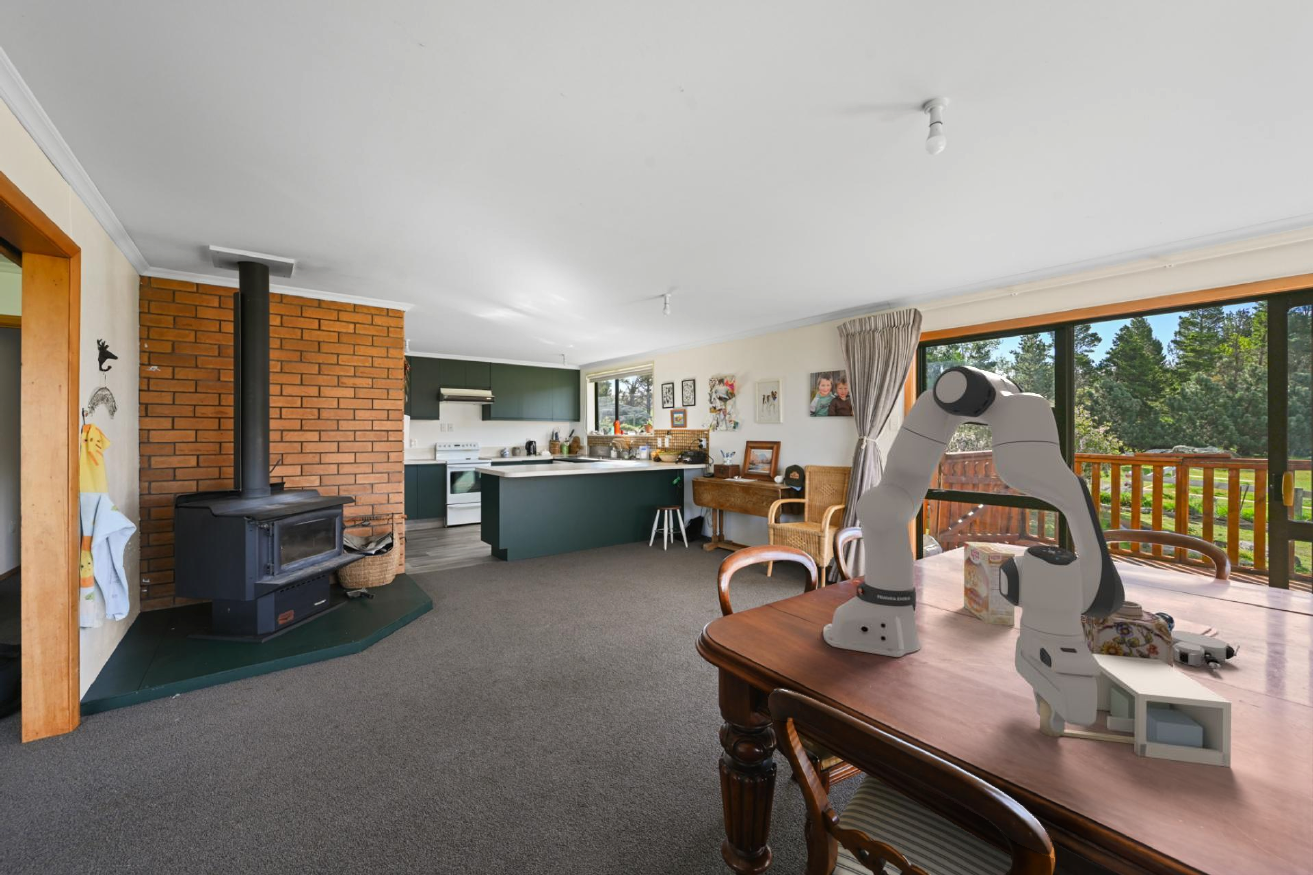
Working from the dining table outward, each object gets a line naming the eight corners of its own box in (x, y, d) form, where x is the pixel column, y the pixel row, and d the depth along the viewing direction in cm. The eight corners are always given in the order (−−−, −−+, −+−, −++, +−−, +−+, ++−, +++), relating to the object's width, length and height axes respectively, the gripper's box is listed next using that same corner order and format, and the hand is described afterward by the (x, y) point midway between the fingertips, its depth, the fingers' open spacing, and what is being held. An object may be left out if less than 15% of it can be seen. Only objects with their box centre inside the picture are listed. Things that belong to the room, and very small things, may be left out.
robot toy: (1222, 682, 112) (1241, 661, 120) (1222, 661, 111) (1241, 641, 119) (1146, 660, 122) (1167, 642, 130) (1146, 641, 122) (1167, 624, 130)
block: (1127, 728, 92) (1128, 699, 92) (1110, 713, 97) (1110, 686, 97) (1168, 732, 91) (1169, 704, 91) (1149, 717, 96) (1149, 690, 96)
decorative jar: (1174, 714, 97) (1175, 616, 97) (1092, 697, 103) (1093, 605, 103) (1156, 687, 107) (1157, 599, 107) (1083, 673, 113) (1083, 590, 113)
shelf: (1138, 755, 84) (1138, 693, 84) (1083, 705, 100) (1083, 652, 100) (1230, 766, 82) (1231, 702, 81) (1158, 713, 97) (1159, 659, 97)
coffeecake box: (962, 606, 157) (963, 541, 157) (988, 607, 156) (989, 542, 156) (987, 624, 142) (987, 552, 142) (1015, 626, 141) (1016, 553, 141)
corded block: (1047, 739, 89) (1047, 709, 89) (1034, 723, 94) (1034, 695, 94) (1202, 758, 84) (1202, 726, 84) (1179, 740, 89) (1179, 710, 89)
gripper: (1005, 620, 102) (1004, 692, 102) (1059, 666, 82) (1058, 755, 82) (1042, 623, 100) (1042, 695, 100) (1107, 670, 80) (1106, 761, 80)
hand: (1050, 723), depth 91 cm, fingers closed on corded block, 3 cm apart
